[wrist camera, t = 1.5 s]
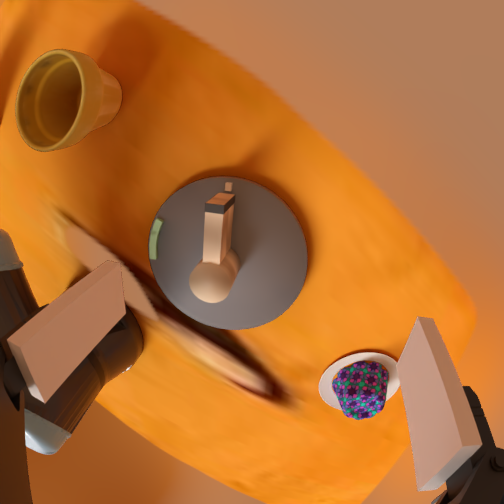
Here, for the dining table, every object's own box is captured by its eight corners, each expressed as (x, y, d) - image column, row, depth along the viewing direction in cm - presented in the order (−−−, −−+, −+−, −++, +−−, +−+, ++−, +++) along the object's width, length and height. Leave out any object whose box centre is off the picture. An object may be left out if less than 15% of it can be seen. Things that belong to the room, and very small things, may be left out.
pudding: (301, 378, 41) (299, 406, 37) (373, 333, 37) (379, 360, 32) (349, 417, 43) (350, 443, 39) (414, 379, 39) (422, 405, 34)
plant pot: (122, 152, 33) (69, 164, 24) (62, 132, 33) (7, 140, 24) (149, 67, 29) (98, 52, 20) (83, 55, 29) (28, 46, 20)
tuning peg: (238, 282, 35) (228, 306, 30) (203, 276, 35) (188, 298, 30) (247, 195, 31) (237, 207, 26) (208, 190, 31) (191, 201, 27)
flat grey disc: (292, 333, 38) (292, 343, 37) (156, 307, 40) (149, 315, 38) (320, 188, 31) (321, 192, 30) (154, 168, 33) (146, 171, 32)
